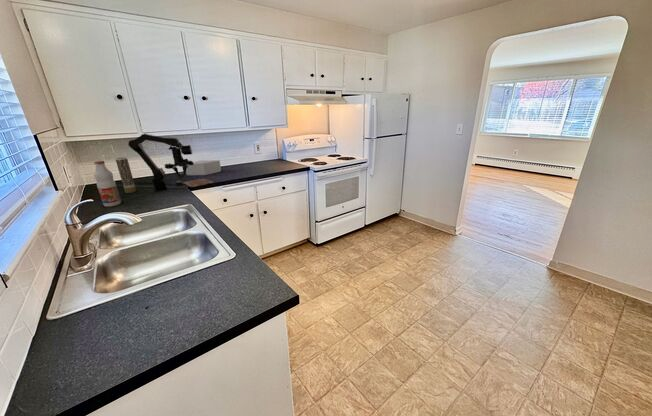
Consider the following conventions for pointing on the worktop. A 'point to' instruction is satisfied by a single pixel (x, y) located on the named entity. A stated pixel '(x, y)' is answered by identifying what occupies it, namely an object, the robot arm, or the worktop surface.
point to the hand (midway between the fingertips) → (181, 175)
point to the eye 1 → (178, 183)
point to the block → (204, 167)
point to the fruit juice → (106, 185)
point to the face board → (198, 182)
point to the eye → (181, 175)
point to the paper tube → (126, 175)
